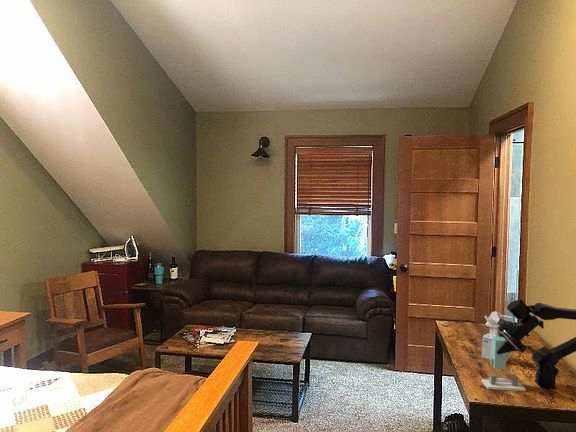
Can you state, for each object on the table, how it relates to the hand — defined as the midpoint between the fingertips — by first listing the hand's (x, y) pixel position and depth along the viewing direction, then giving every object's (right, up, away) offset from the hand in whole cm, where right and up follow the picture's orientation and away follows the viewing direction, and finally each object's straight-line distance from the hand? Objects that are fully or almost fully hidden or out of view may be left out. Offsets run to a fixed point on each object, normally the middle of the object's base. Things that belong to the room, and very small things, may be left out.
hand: (495, 351), depth 195 cm
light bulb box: (+12, -12, +27) cm, 31 cm away
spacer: (+1, -7, 0) cm, 7 cm away
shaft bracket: (+2, -14, -3) cm, 14 cm away
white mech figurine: (+20, -11, +43) cm, 49 cm away
